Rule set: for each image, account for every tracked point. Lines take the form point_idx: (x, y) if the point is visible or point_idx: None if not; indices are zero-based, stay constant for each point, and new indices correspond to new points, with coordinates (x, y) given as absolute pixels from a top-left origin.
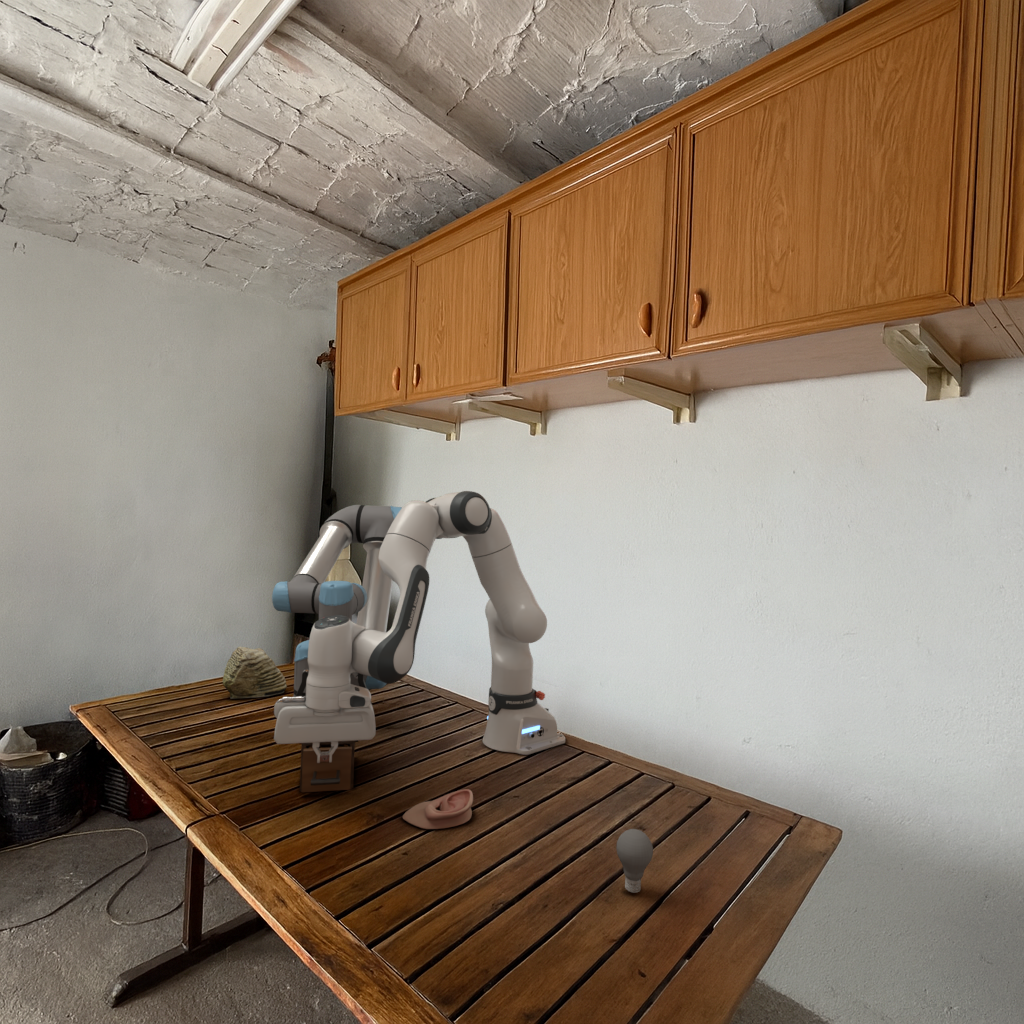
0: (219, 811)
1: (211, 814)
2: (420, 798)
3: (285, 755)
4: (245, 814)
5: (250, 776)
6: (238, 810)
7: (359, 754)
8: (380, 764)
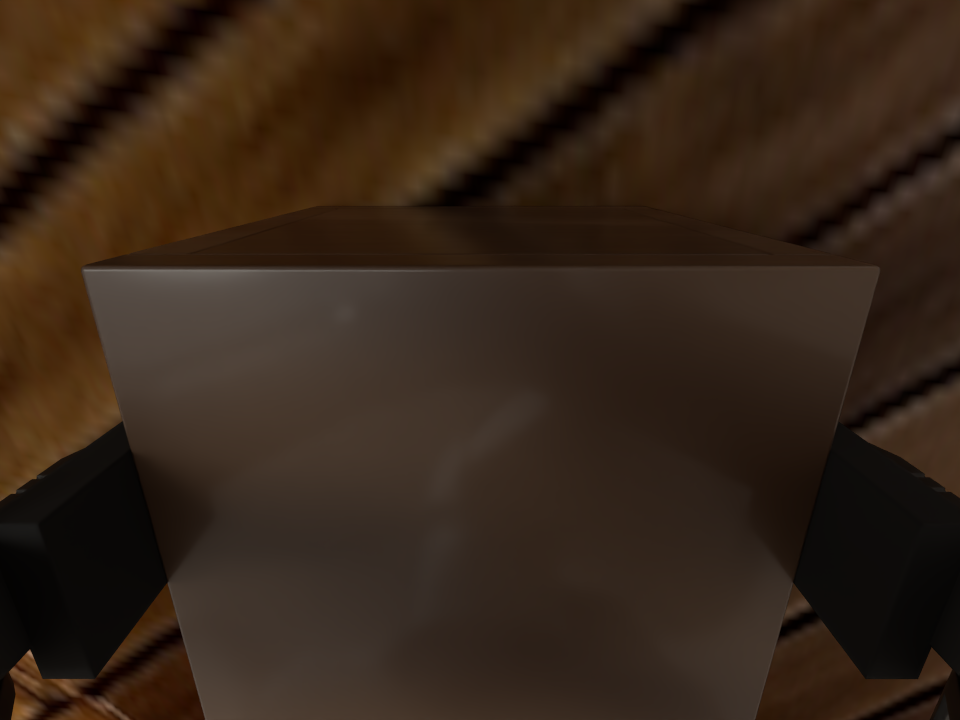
0: (72, 682)
1: (53, 697)
2: (878, 683)
3: (134, 75)
4: (185, 710)
5: (42, 395)
6: (144, 684)
7: (691, 128)
8: None
